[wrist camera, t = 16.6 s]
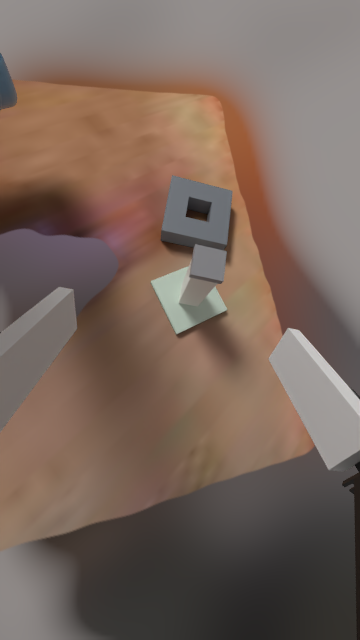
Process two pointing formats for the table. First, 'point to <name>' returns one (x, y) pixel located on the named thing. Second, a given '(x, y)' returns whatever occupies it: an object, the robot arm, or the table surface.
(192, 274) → the plug
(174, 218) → the grey square socket block
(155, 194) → the table surface
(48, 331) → the robot arm
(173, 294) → the pad
